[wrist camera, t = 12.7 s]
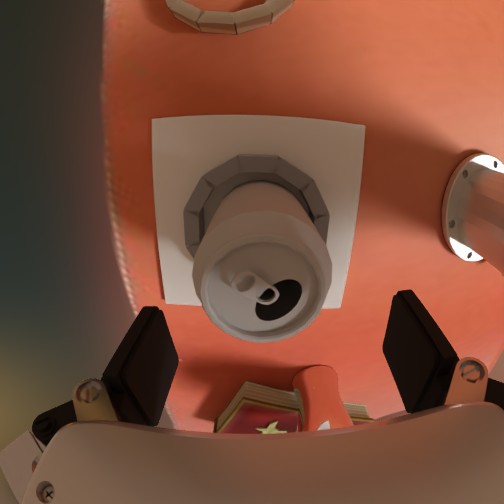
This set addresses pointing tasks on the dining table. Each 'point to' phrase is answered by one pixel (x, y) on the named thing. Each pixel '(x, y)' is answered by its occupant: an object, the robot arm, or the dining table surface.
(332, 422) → the silver tumbler
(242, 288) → the can
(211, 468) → the robot arm
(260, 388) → the hardcover book
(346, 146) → the holder
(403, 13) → the dining table surface
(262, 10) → the stand ring
